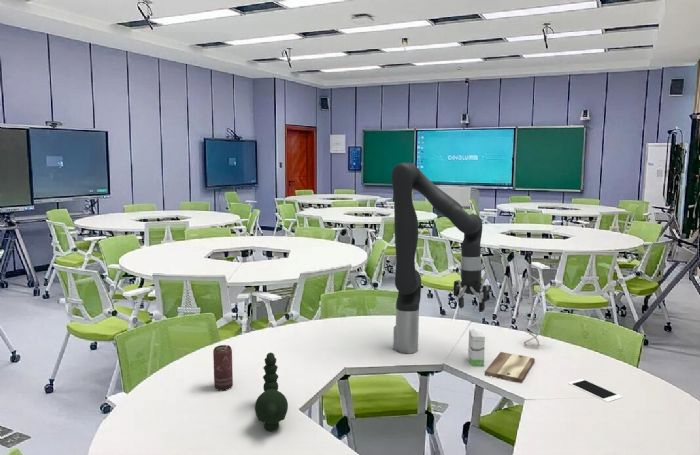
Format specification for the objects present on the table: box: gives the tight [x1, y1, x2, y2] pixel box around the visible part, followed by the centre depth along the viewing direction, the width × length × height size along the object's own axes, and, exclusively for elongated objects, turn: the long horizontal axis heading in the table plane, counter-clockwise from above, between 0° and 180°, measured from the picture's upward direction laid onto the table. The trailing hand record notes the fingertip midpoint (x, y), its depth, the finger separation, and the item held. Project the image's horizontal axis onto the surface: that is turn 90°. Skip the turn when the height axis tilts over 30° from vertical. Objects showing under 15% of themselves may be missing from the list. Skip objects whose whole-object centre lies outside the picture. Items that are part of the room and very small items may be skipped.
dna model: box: [523, 274, 544, 349], centre depth 218 cm, size 7×6×30 cm
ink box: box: [467, 328, 486, 367], centre depth 203 cm, size 9×5×12 cm, turn 176°
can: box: [212, 344, 234, 391], centre depth 179 cm, size 6×6×14 cm
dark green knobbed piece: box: [254, 352, 289, 432], centre depth 158 cm, size 9×19×25 cm
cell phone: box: [567, 378, 624, 403], centre depth 180 cm, size 8×16×1 cm, turn 27°
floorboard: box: [484, 351, 536, 384], centre depth 198 cm, size 13×22×2 cm, turn 150°
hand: (471, 309), depth 201 cm, fingers open, 8 cm apart
